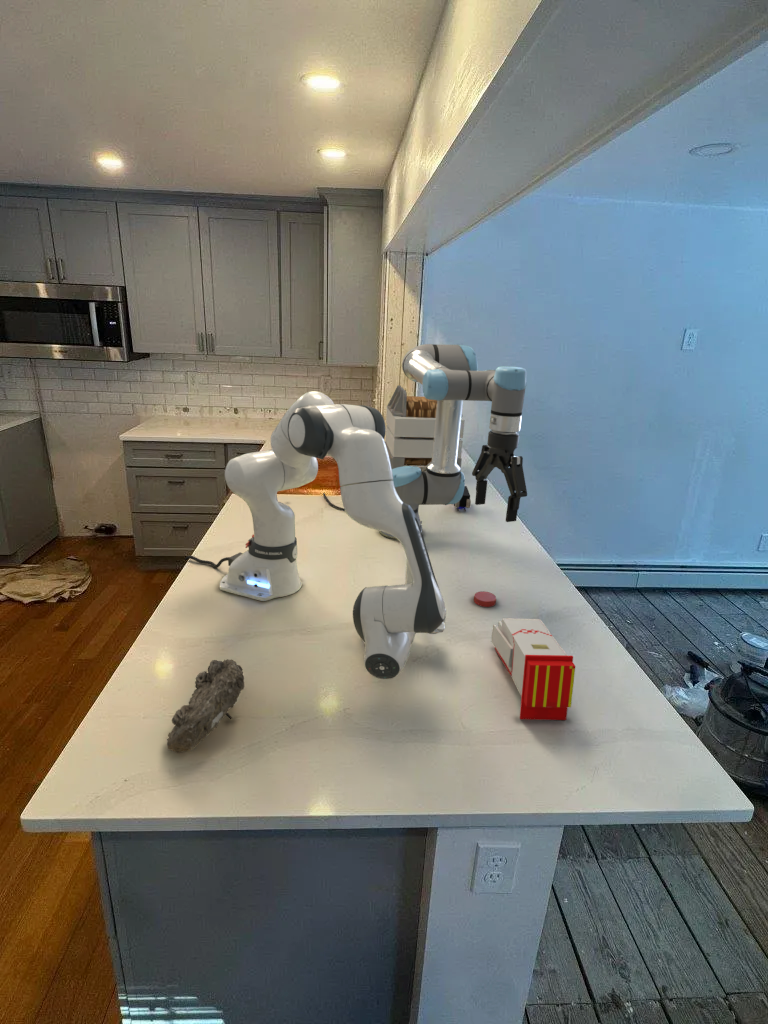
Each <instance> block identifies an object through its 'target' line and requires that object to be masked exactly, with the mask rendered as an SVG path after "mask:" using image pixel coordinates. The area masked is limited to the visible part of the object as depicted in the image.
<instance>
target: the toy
mask: <svg viewBox="0 0 768 1024" xmlns="http://www.w3.org/2000/svg"><path fill="white" fill-rule="evenodd" d="M490 638H491V639H490V642H491V644H492V646H493V647H494V650H495V652H496V654H497V655H498V657H499V659H500V660H501V662H502V664H503V666H504V667H505V669H506V671H507V672H508V674H509V676H510V677H511V679H512V681H513V683H514V685H515V688H516V690H517V691H518V693H519V695H520V697H521V698H520V710H519V719H520V720H534V721H535V720H539V721H567V716H568V708H572V701H573V692H574V684H575V674H576V673H575V672H576V665H575V663H574V656H573V655H568V654H567V653H566V652H565V650H564V649H563V648H562V646H561V645H560V644H559V643H558V641H557V640H556V639H555V637H554V636H553V634H552V633H551V632H550V631H549V629H548V628H547V626H546V624H545V623H543V621H542V620H541V619H540V618H505V617H503V618H501V620H498V622H497V624H495V623H493V624H492V632H491V637H490Z"/></svg>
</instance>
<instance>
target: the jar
mask: <svg viewBox="0 0 768 1024" xmlns="http://www.w3.org/2000/svg"><path fill="white" fill-rule="evenodd" d="M404 580H405V581H404V584H411V583H413V582H414V581H413V578H412V574H411V571H410V568H409V564H408V561H407V560H406V563H405V578H404Z"/></svg>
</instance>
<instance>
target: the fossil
mask: <svg viewBox="0 0 768 1024" xmlns="http://www.w3.org/2000/svg"><path fill="white" fill-rule="evenodd" d="M243 670H244V669H243V667H242V665H240V664H237V662H236V661H235V660H234V659H232V658H231V659H227V658H226V659H224V660H223V661H222V660H217V659H212V660H211V661H210V663H209V665H208V666H207V671H201V672H199V673H198V674H197V675H196V676H195V680H194V684H195V685H194V687H195V689H194V690H193V693H192V694H191V697H190V698H189V700H188V704H184V705H182V706H181V707H180V709H177V710H176V711H175V713H174V715H173V716H172V718H171V723H172V724H173V727H172V730H171V731H170V732H168V734H167V738H166V741H167V742H166V745H167V749H168V750H169V751H173V752H174V753H176V754H178V753H182V752H188V751H189V752H192V751H193V750H195V748H196V747H197V746H199V744H200V743H201V742H203V741H204V740H205V739H206V738H207V737H208V736H209V735H210V734H211V733H212V732H214V730H215V729H217V727H218V726H219V724H220V722H221V721H222V720H223V719H224V718H225V716H226V717H227V719H229V720H233V717H232V715H230V714H229V710H230V709H231V708H234V706H235V704H236V703H237V702H238V699H239V697H240V695H241V693H242V691H243V690H245V689H244V688H245V675H244V671H243Z"/></svg>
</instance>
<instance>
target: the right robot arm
mask: <svg viewBox="0 0 768 1024" xmlns="http://www.w3.org/2000/svg"><path fill="white" fill-rule="evenodd" d="M477 357H478V356H477V354H476V352H475V350H474V349H473V347H471V346H469V345H463V344H438V343H437V344H436V343H435V344H434V343H433V344H432V343H425V344H424V343H423V344H419V345H417V346H414V347H412V348H411V349H409V350H408V351H407V352H406V353H405V355H404V356H403V359H402V361H401V364H402V365H401V368H402V371H403V374H404V376H405V377H406V378H407V379H408V380H410V381H411V382H414V383H419V384H421V385H422V394H423V397H425V398H426V399H430V400H437V408H436V419H435V430H434V441H433V452H432V461H431V462H430V463H429V464H428V465H427V466H426V470H424V471H422V469H421V467H420V466H407V465H404V466H402V467H397V468H394V469H392V473H393V480H391V481H394V486H395V489H396V492H397V494H398V496H399V498H400V499H401V500H402V502H403V503H405V504H407V505H410V506H411V508H412V509H413V511H414V513H415V515H416V518H417V520H418V523H419V526H420V529H421V532H422V533H423V525H422V524H423V520H421V518H420V515H419V507H420V506H436V505H439V506H441V505H443V506H447V505H454V504H456V503H457V502H459V501H460V499H461V498H462V495H463V492H464V487H465V486H466V483H465V480H466V479H465V474H464V472H462V470H461V471H460V467H459V466H458V465H457V455H458V445H459V436H460V427H461V418H462V419H463V408H464V401H468V402H469V401H474V402H475V401H479V402H491V408H490V419H489V426H488V427H489V431H488V433H487V444H483V445H481V452H480V454H479V456H478V458H477V460H476V463H475V465H474V468H473V470H472V471H471V475H472V476H473V477H475V480H476V483H475V484H476V486H475V499H474V505H476V506H479V505H485V504H486V499H487V490H488V489H487V488H488V476H489V475H490V474H491V473H492V471H493V470H494V469H495V468H497V469H498V470H500V472H501V473H502V474H503V476H504V479H505V481H506V484H507V487H508V491H509V494H510V495H509V496H507V497H508V498H507V506H506V514H505V522H506V523H512V522H517V519H518V518H517V517H518V511H519V509H520V503H521V498H525V497H528V491H527V490H528V489H527V485H526V484H527V483H526V478H525V472H524V467H523V466H524V465H523V463H524V458H523V456H522V455H518V456H516V455H515V450H516V449H517V448H518V447H519V441H520V434H519V432H520V431H521V426H522V417H523V408H524V401H525V393H526V387H527V376H528V375H527V374H528V373H527V370H526V368H523V367H519V366H510V365H509V366H508V365H506V366H505V365H504V366H503V365H501V366H498V367H496V369H485V370H479V363H478V358H477ZM322 495H323V497H324V499H325V501H326V502H327V503H328V504H329V505H330V506H331V507H332V508H335V509H338V510H340V511H344V512H345V510H344V507H340V506H337V505H335V504H334V503H332V502H331V501H330V500H329V499H328V497H327V495H326V493H325V492H322ZM378 533H379V534H380V535H381V536H382V537H385V538H387V539H389V540H395V541H399V540H398V539H397V538H396V537H394V536H393V535H391V534H388V533H386V532H383V531H379V530H378Z"/></svg>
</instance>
